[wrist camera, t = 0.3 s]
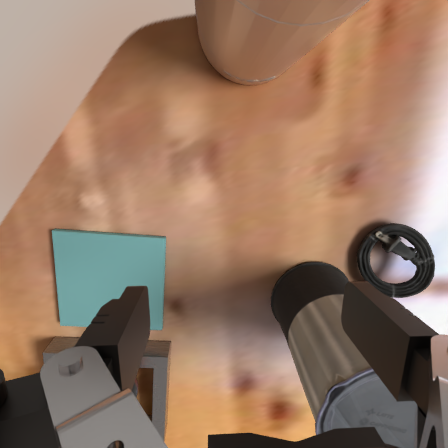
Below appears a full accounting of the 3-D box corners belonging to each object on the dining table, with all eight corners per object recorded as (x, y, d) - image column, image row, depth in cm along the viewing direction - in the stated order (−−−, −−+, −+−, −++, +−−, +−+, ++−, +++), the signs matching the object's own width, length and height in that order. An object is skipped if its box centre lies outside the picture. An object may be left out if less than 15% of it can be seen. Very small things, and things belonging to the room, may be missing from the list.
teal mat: (54, 228, 28) (51, 230, 27) (166, 236, 29) (165, 238, 28) (63, 322, 31) (60, 325, 31) (162, 326, 32) (161, 330, 32)
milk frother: (257, 320, 33) (294, 461, 18) (310, 193, 28) (411, 249, 14) (364, 347, 35) (472, 492, 20) (429, 231, 30) (621, 314, 16)
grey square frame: (55, 336, 32) (42, 352, 29) (170, 341, 33) (167, 357, 30) (63, 422, 36) (52, 442, 33) (166, 424, 37) (164, 444, 34)
